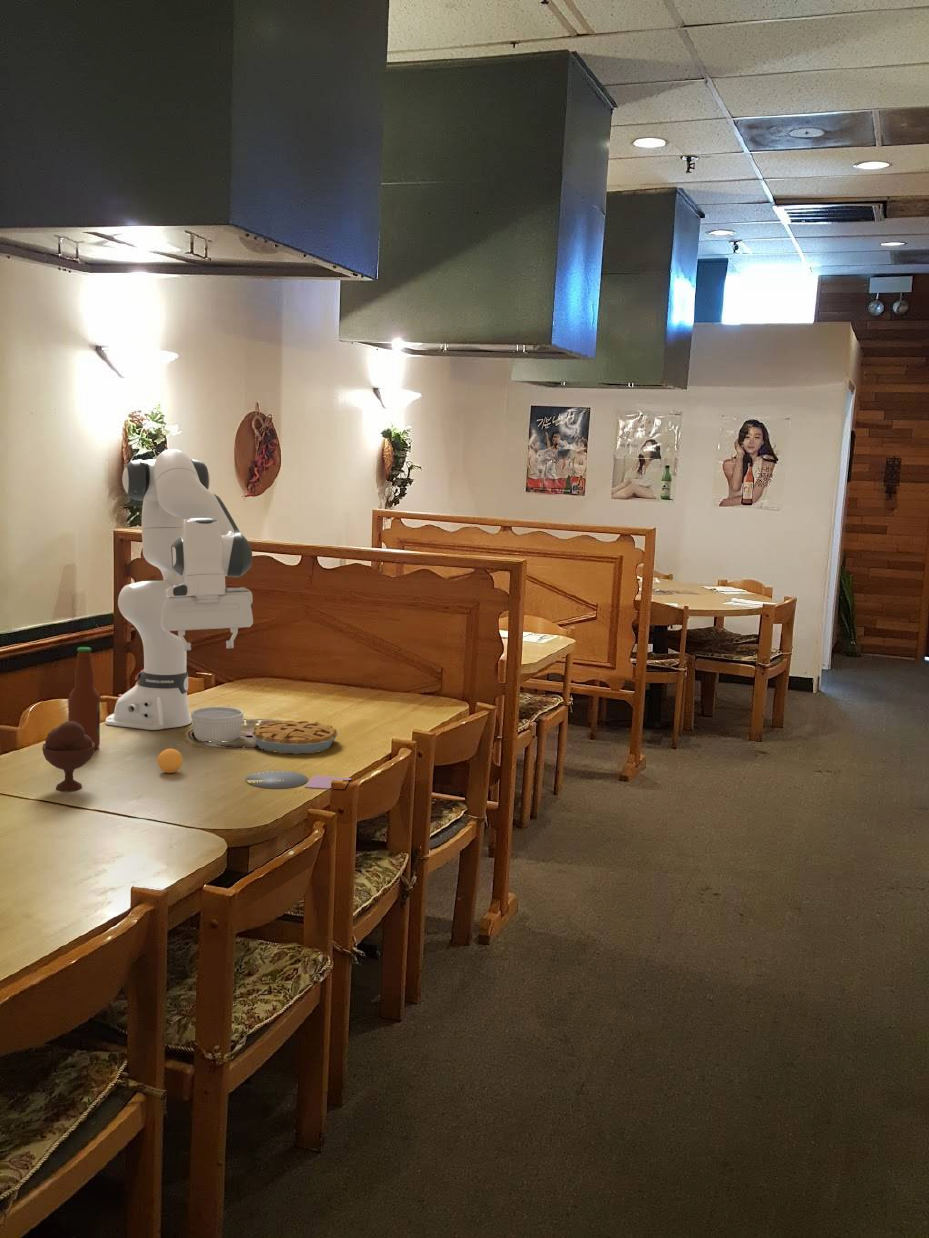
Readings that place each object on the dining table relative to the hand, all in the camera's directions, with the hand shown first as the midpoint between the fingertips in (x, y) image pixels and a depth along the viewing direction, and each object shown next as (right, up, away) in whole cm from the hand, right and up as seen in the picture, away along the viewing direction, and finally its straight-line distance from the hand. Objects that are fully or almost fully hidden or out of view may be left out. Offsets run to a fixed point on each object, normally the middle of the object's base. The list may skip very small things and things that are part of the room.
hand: (209, 649), depth 250 cm
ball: (-10, -26, +5) cm, 28 cm away
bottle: (-36, -25, +23) cm, 49 cm away
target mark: (+15, -30, +4) cm, 34 cm away
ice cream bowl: (-28, -30, -10) cm, 42 cm away
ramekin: (-7, -24, +39) cm, 46 cm away
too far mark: (+27, -31, +3) cm, 41 cm away
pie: (+14, -26, +35) cm, 46 cm away
